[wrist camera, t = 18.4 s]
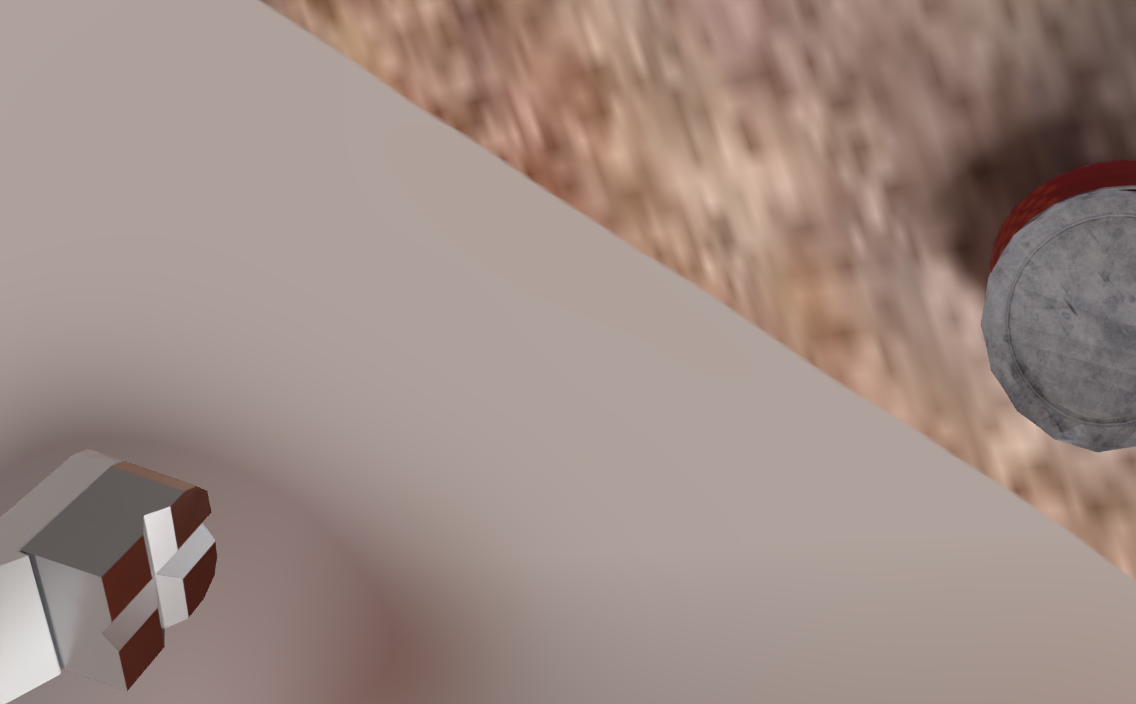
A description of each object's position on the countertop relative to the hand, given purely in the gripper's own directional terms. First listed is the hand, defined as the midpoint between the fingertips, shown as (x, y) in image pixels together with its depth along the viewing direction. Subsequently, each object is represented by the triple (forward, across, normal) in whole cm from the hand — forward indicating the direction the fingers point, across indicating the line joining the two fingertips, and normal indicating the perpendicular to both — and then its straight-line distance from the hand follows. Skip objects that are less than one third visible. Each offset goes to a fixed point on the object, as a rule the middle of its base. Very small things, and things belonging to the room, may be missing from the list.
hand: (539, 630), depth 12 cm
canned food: (+39, -13, +12) cm, 43 cm away
